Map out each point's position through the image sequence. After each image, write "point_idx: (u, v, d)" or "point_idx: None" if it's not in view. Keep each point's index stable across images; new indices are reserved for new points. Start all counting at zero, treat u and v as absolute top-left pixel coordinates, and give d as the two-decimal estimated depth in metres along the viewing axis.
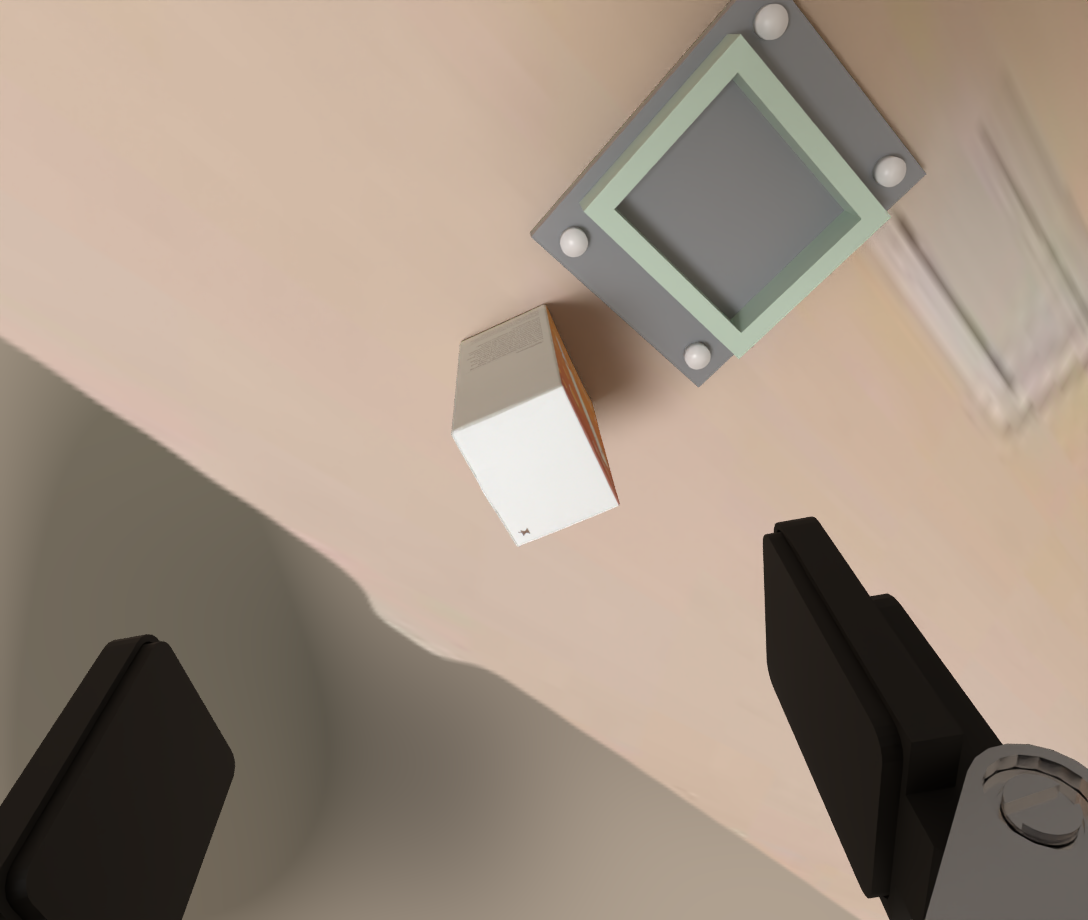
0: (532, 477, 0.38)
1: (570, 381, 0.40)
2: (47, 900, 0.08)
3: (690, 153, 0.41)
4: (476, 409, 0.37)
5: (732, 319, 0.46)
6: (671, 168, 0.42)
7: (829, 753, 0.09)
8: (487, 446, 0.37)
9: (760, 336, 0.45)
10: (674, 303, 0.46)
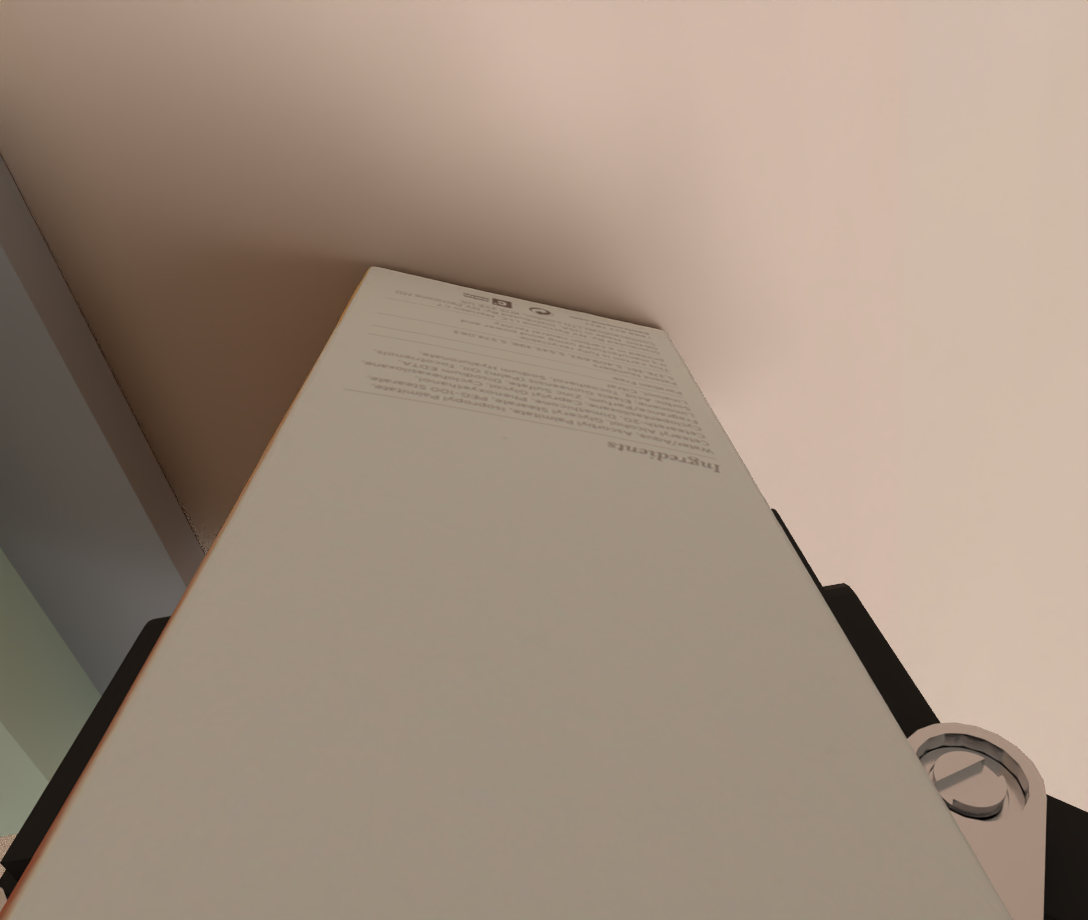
0: None
1: None
2: None
3: None
4: None
5: None
6: None
7: None
8: None
9: None
10: None
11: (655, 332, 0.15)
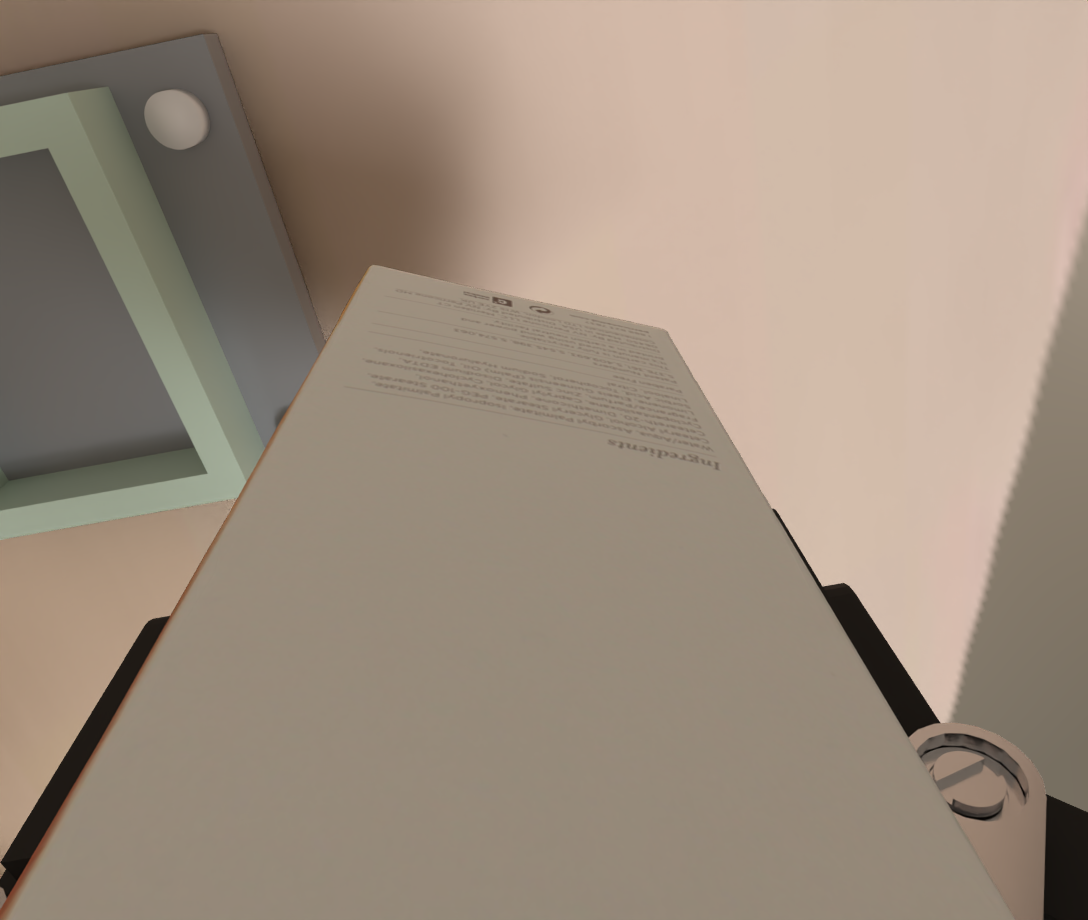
0: None
1: None
2: None
3: (85, 425, 0.28)
4: None
5: None
6: (120, 424, 0.28)
7: None
8: None
9: (5, 111, 0.20)
10: (187, 239, 0.24)
11: (655, 331, 0.15)
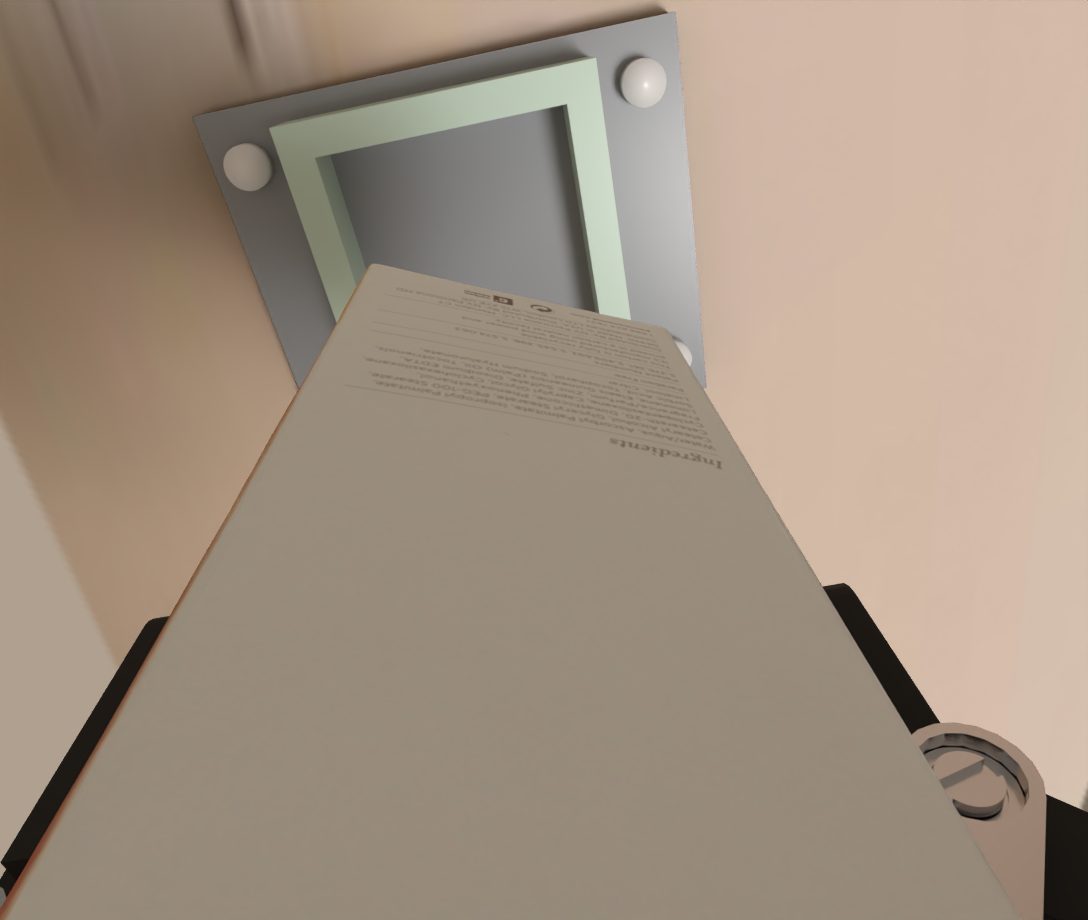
0: None
1: None
2: None
3: None
4: None
5: None
6: None
7: None
8: None
9: (542, 73, 0.25)
10: (617, 186, 0.29)
11: (656, 330, 0.15)
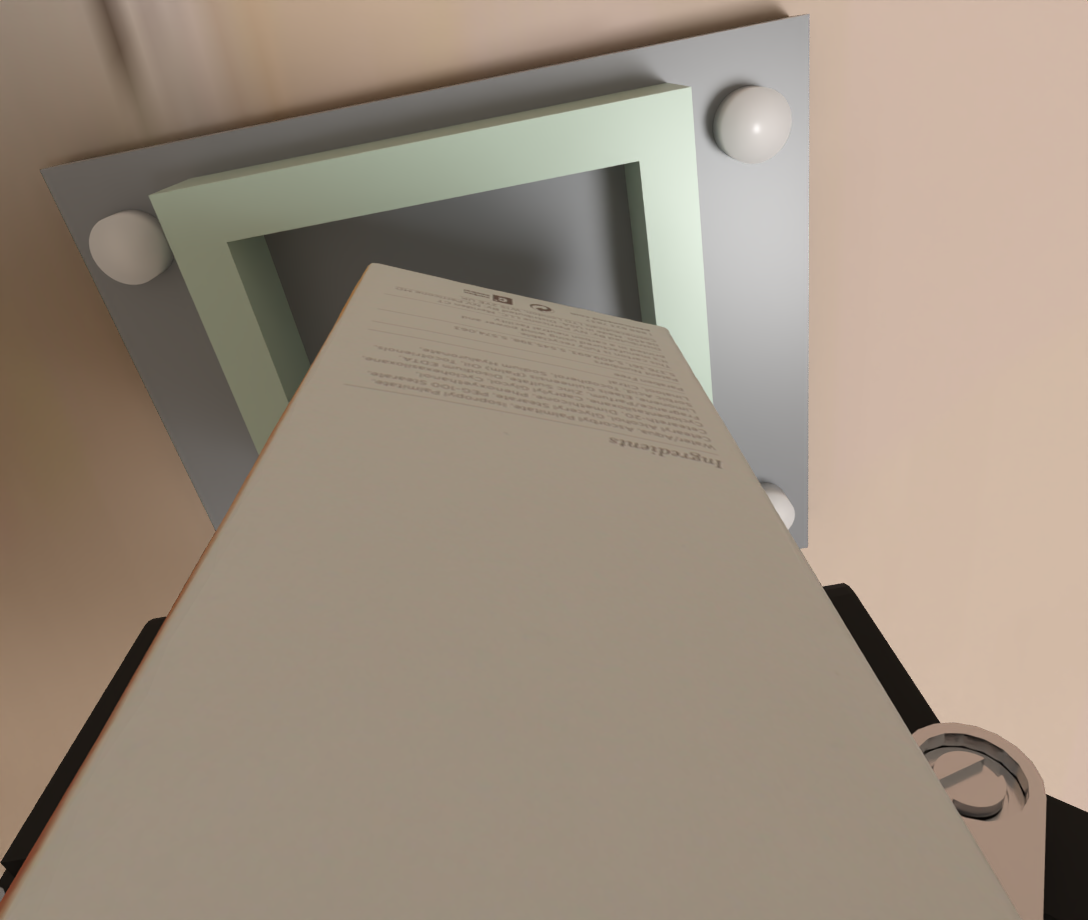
0: None
1: None
2: None
3: None
4: None
5: None
6: None
7: None
8: None
9: (602, 111, 0.15)
10: None
11: (656, 329, 0.15)
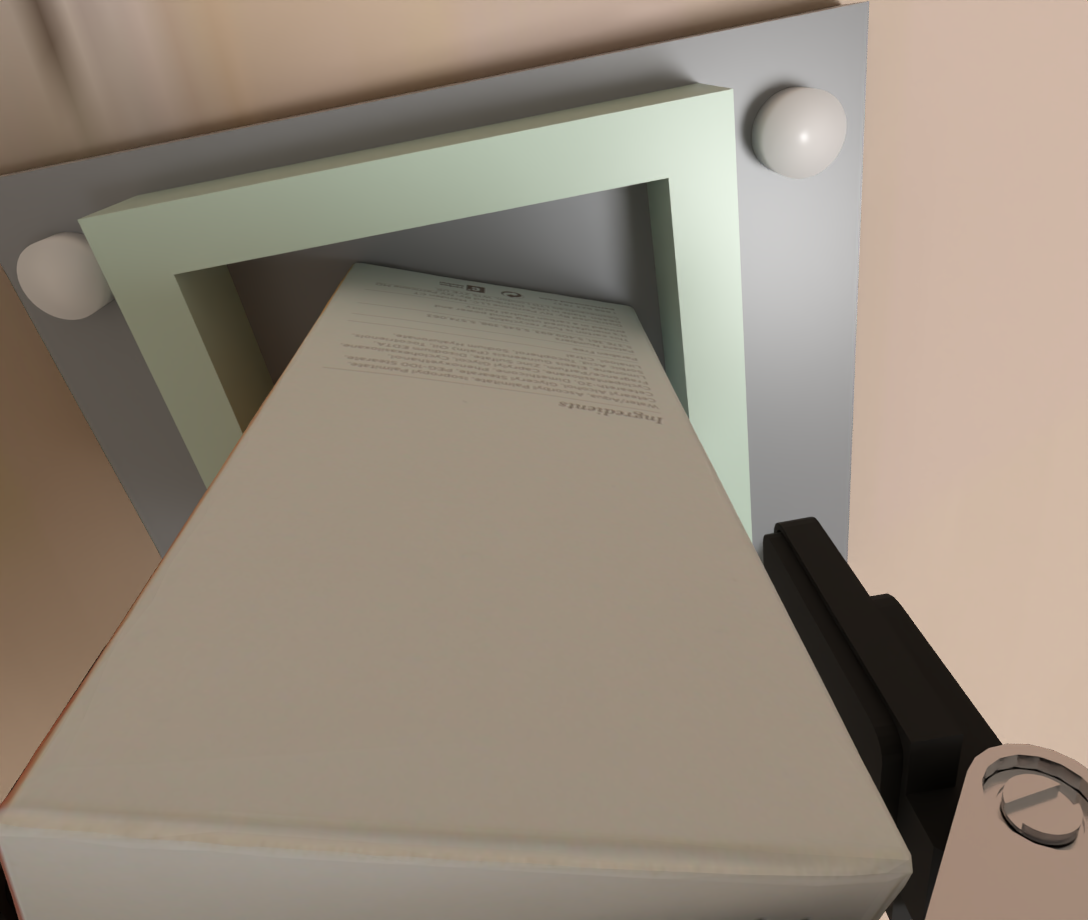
0: None
1: None
2: None
3: None
4: None
5: None
6: None
7: None
8: None
9: (625, 119, 0.12)
10: None
11: (621, 308, 0.16)
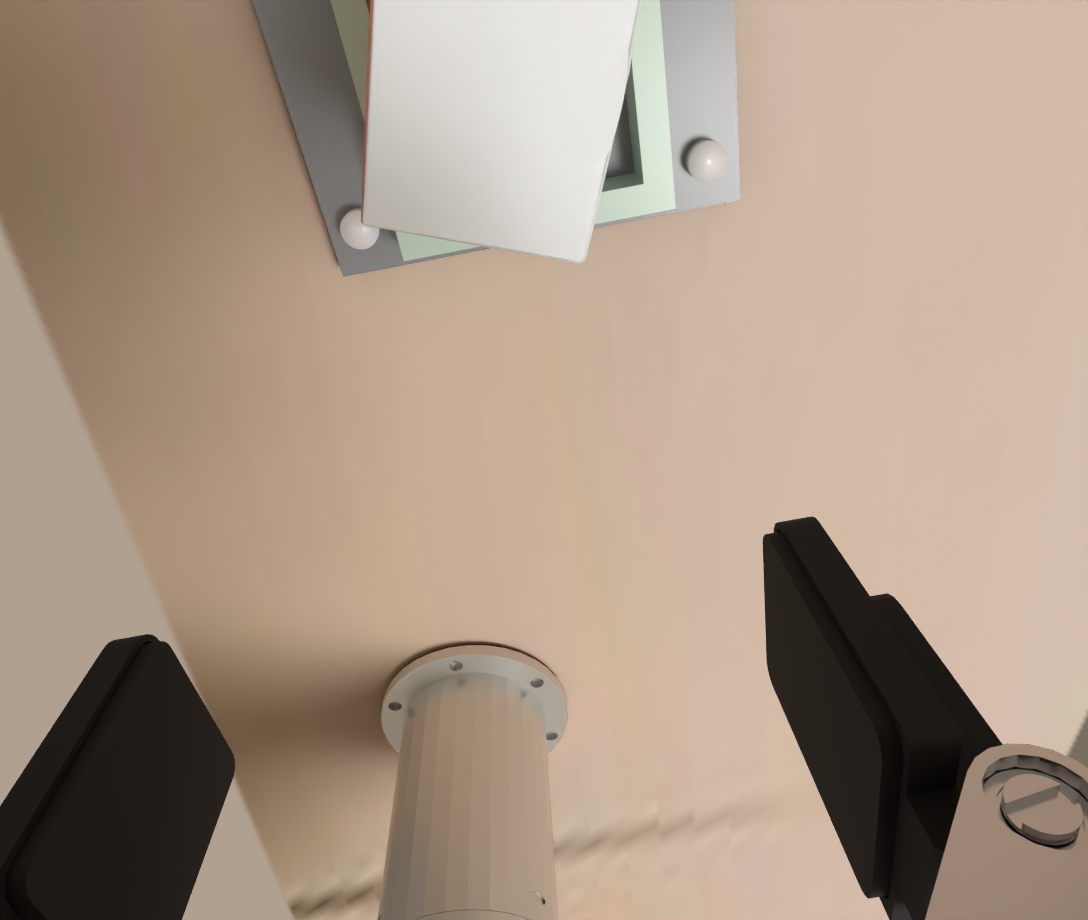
0: (514, 80, 0.18)
1: None
2: (47, 900, 0.08)
3: None
4: None
5: None
6: None
7: (829, 753, 0.09)
8: (547, 202, 0.19)
9: None
10: None
11: None
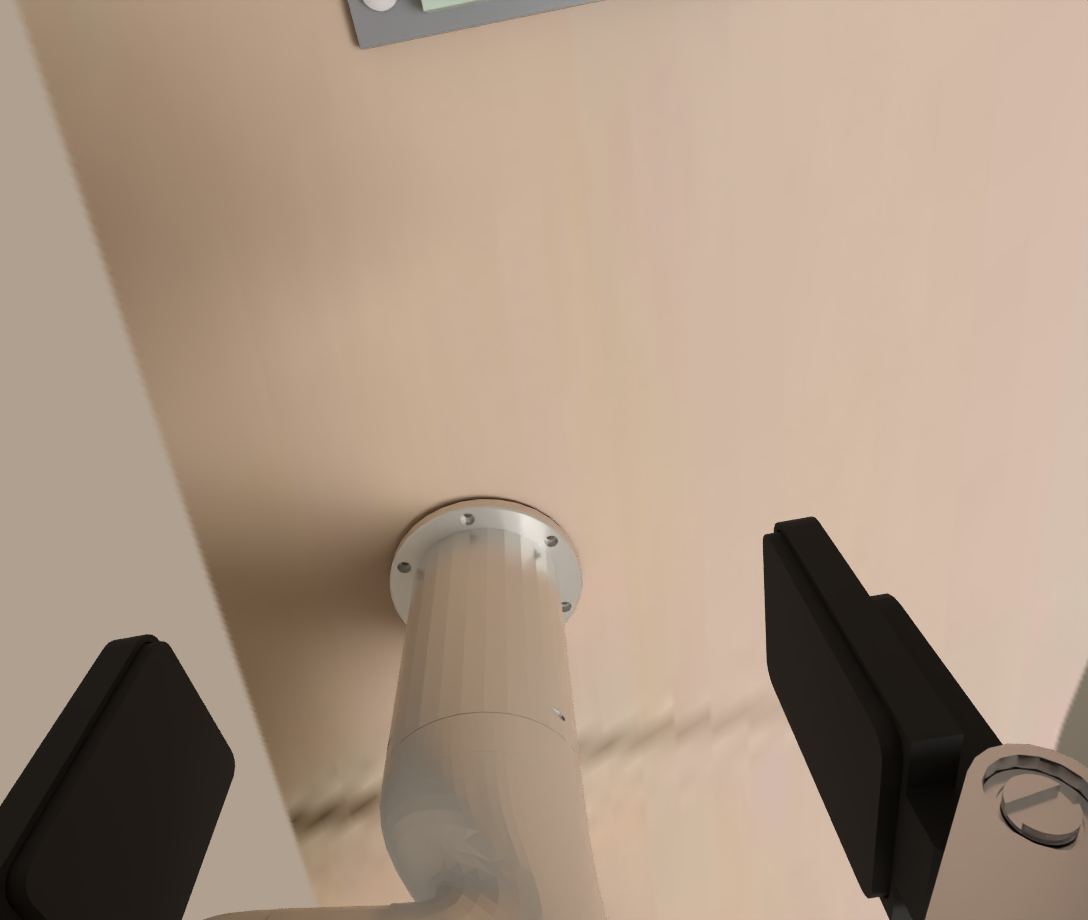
0: None
1: None
2: (47, 900, 0.08)
3: None
4: None
5: None
6: None
7: (829, 753, 0.09)
8: None
9: None
10: None
11: None
